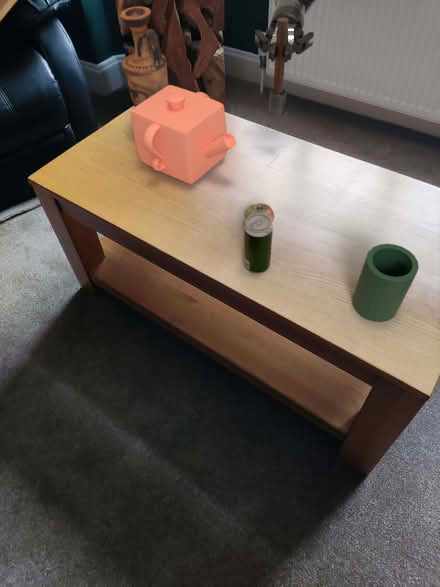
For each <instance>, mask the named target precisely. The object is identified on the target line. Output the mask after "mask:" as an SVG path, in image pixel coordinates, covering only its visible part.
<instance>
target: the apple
mask: <svg viewBox="0 0 440 587" xmlns="http://www.w3.org/2000/svg"><path fill="white" fill-rule="evenodd" d="M257 213H259V214H265V215H267V216H268V217H270V219H271V220H272V224H273V222H274V221H275V213H274V210H273V208H272V207H271V206H270V205H269V204H266V203H261V202H259V203H253V204H251V205H249V206H248V207H246V209H245V210H244V213H243V217H244V218H243V219H244V221H246V219H247V218H248V217H249V216H250V215H253V214H257Z"/></svg>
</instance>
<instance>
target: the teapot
mask: <svg viewBox="0 0 440 587" xmlns="http://www.w3.org/2000/svg"><path fill="white" fill-rule="evenodd" d="M129 113H130V120H131V127H132V134H133V140H134V144H135V145H134V146H135V150H136V153H137V156H138V159H139V162H141V163H143V164H145V165H147V166H149V167H150V168H152V169H153V170H154V171H156V172H161V173H163V174H165V175H167V176H169V177H172V178H174V179H177V180H178V181H180V180H181V181H180V182H182V181H184V182H183V183H185V184H186V183H187V184H189V185H193V184H194V183H196V182H197V181H198V180H200V178H202V177H203V176H204V175H206V173H207V172H209V171H210V170H211V169H212V168H213V167H215V166H216V165H217V164H218V163H219V162H220V161H221V160H222V159H224V158H225V157H226V156H227V154H228V151H230V150H231V149H234V148H235V147H236V144H237V139H236V137H235V136H234V134H233V133H231V132H227V120H226V113H225V105H224V104H223V103H222V102H220V101H218V100H216V99H213V98H211V97H210V96H209V95H208V94H207V93H205V92H203V91H196V92H194V91H190V90H187V89H186V88H182V87H179V86H175V85H172V84H168V86H167V87H165V88H164V89H162V90H160V91H159V92H157V93H156V94H154V95H153V96H151V97H150V98H148V99H146V100H145V101H144V102H142V103H141V104H139V105H138V106H136V107H133V108H132V109H130V111H129Z"/></svg>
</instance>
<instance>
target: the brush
mask: <svg viewBox="0 0 440 587" xmlns="http://www.w3.org/2000/svg"><path fill="white" fill-rule="evenodd" d="M287 32H288V18H284V17H283V18H279V19H278V21H277V38H276V56H275V61H274V72H273V88H271V89H270V90H269V100H268V114H269V115H270V116H272V117H280V116H283V115H284V114H285V111H286V100H287V90H286V89H285V88H284V82H285V69H286V62H284V58H285V49H286V45H287Z"/></svg>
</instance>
